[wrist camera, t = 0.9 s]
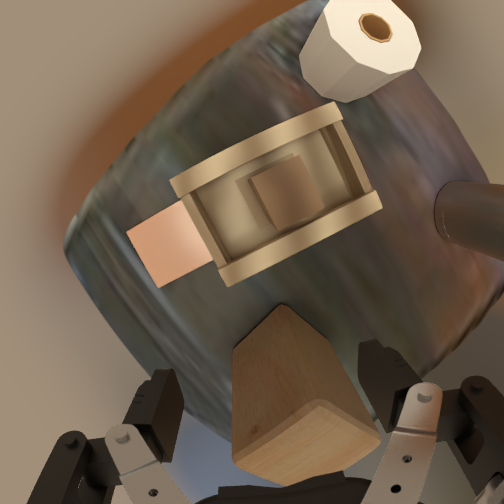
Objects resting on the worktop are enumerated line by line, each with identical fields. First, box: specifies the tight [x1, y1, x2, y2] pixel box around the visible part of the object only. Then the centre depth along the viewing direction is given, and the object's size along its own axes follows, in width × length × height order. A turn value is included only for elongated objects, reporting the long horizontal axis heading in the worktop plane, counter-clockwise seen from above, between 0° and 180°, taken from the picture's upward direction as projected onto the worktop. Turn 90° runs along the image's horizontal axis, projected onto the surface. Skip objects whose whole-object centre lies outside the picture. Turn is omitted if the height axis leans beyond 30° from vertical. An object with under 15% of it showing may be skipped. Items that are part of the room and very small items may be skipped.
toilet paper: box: [299, 0, 421, 103], centre depth 25 cm, size 10×10×12 cm
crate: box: [169, 102, 383, 287], centre depth 31 cm, size 18×12×7 cm, turn 117°
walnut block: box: [247, 154, 325, 231], centre depth 28 cm, size 4×5×8 cm
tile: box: [126, 200, 214, 288], centre depth 35 cm, size 8×8×1 cm
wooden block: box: [232, 304, 381, 486], centre depth 29 cm, size 10×10×20 cm
